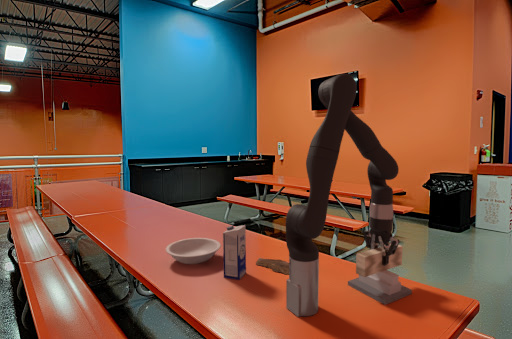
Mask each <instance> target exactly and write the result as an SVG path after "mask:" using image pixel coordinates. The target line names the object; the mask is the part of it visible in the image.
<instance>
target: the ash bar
mask: <svg viewBox="0 0 512 339" xmlns="http://www.w3.org/2000/svg"><path fill="white" fill-rule="evenodd" d="M390 245H391V244H390ZM403 250H404V249H403V245H401V244H399V245H398V247H397V249H396V252H395V254H393V255H390V256H389V263H388V264H387V265H385V266H383V265H382V255H383V253H382V249H381V247H380V246H378V248H375V249H372V250H371V249H368V250H364V251H362V252H358V253H356V257H355V258H356V259H355V260H356V261H355V266H356V267H355V274H356V275H358V276H359V275H361V276H363V277H367V276H370V275H373V274H376V273H379V272H382V271H385V270H390V269H393V268H396V267H398V266H402V265H403Z"/></svg>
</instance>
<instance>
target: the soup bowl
mask: <svg viewBox="0 0 512 339" xmlns="http://www.w3.org/2000/svg"><path fill="white" fill-rule="evenodd" d="M221 247H222V244H221V243H220V241H218V240H216V239H213V238H209V237H208V238H207V237H190V238H189V237H188V238H183V239H180V240H176V241H174V242H171V243H170V244H168V245H167V246H166V247H165V252H166V253H167V254H168V255H170V256H171V257H172V259H173V260H175V261H176V262H178V263H181V264H184V265H185V264H186V265H196V264H201V263H204V262H207V261H208V260H210V259H211V258H213V257H214V255H215V254H216V252H218V251H220V249H221Z"/></svg>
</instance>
